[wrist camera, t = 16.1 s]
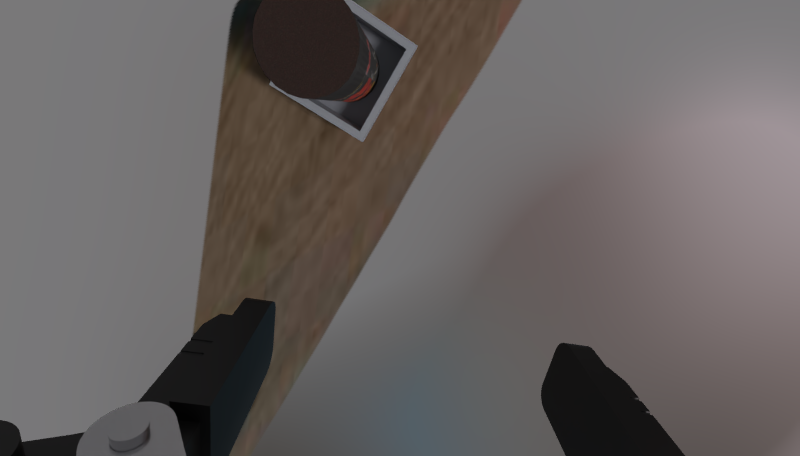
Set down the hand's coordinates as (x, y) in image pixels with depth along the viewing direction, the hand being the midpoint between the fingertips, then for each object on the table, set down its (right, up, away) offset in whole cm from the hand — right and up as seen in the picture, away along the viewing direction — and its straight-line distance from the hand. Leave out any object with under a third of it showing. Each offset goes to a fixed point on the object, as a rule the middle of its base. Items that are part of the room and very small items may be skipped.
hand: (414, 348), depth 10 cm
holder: (-5, +19, +25) cm, 32 cm away
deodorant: (-5, +18, +24) cm, 31 cm away
